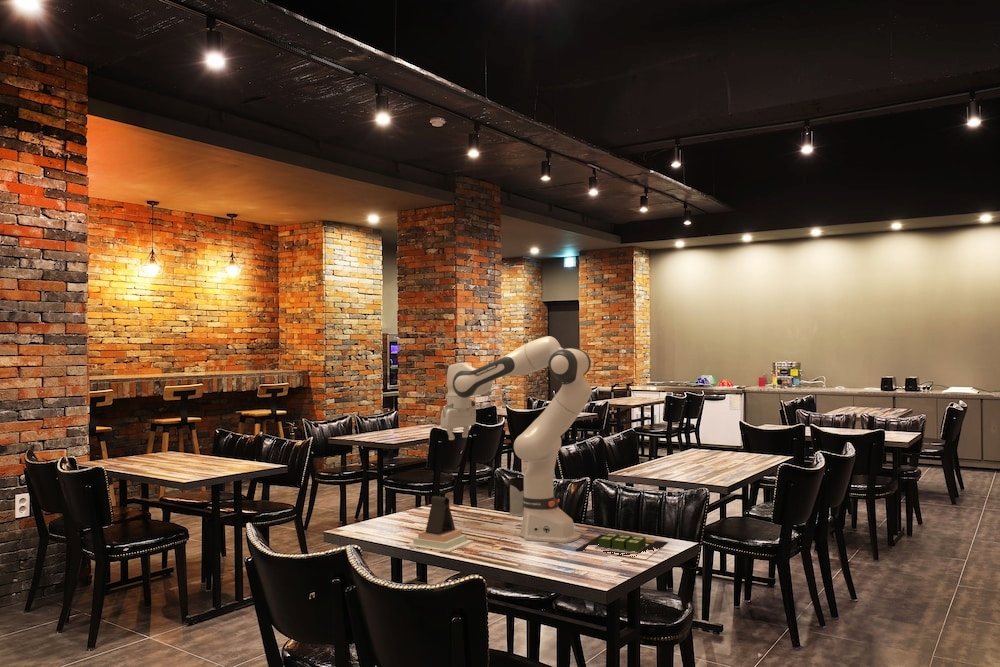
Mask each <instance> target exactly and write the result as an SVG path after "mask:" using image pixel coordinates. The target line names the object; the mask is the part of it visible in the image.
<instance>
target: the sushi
mask: <svg viewBox="0 0 1000 667" xmlns="http://www.w3.org/2000/svg"><path fill="white" fill-rule="evenodd" d="M668 543H669V541H661V540H654V539H647V538H646V536H636V535H634V536H633V535H630V534H629V535H628V534H619V533H613V532H607V533H606V534H603V533H602V534H599V535H598V536H596V537H594V538H593V539H591V540H589V541H588V542H586V543H584V544H582V545H581V546H579V547H578V548H576V549H575V550H576V551H575V552H579V551H583V550H585V548H586V547H587V546H588V545H598V544H599V545H598V546H599V547H604V548H600V549H601V550H604V549H607V548H611V549H612V550H611V549H608V550H609V551H603V552H606V553H607V552H611V554H614V552H615V553H619V555H617V556H616V557H618V556H622V554H621V553H625V554H623V555H630V554H635V553H636V554H638V553H641V552H642V551H643V552H644V551H645V552H646V550H647V549H648V550H653V551H654V549H653V547H654V548H656V549H658V548H659V549H660V548H661V547H662V548H663V547H665V546H666V545H667V544H668ZM664 545H665V546H664ZM599 547H598V548H599ZM643 547H644V548H643ZM641 548H643V549H641ZM662 548H661V549H662ZM615 549H619V550H615ZM624 549H625V550H624ZM661 549H660V550H661ZM623 550H624V551H625V552H624V551H623ZM626 550H627V551H626ZM639 550H640V551H639ZM585 551H586V550H585ZM631 551H635V552H633V553H632V552H631ZM638 551H639V552H638ZM612 552H613V553H612ZM626 553H627V554H626ZM620 554H621V555H620ZM636 556H637V555H636ZM630 557H631V556H630ZM632 557H633V556H632ZM634 557H635V556H634Z"/></svg>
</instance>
